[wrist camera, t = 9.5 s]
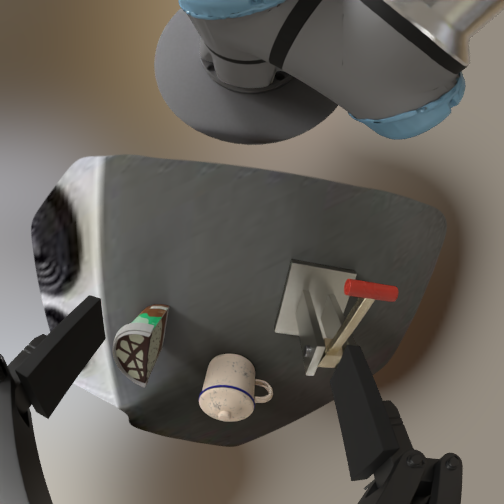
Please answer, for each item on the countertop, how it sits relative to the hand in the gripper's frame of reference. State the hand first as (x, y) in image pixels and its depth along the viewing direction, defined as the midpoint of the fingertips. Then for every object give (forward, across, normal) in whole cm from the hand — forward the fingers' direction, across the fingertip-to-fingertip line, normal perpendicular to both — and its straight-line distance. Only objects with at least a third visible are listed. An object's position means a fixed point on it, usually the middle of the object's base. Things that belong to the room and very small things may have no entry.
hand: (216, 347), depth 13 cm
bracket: (+27, +12, -10) cm, 31 cm away
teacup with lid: (+27, +3, -27) cm, 38 cm away
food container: (+27, -14, -20) cm, 36 cm away
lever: (+13, +12, -5) cm, 18 cm away
